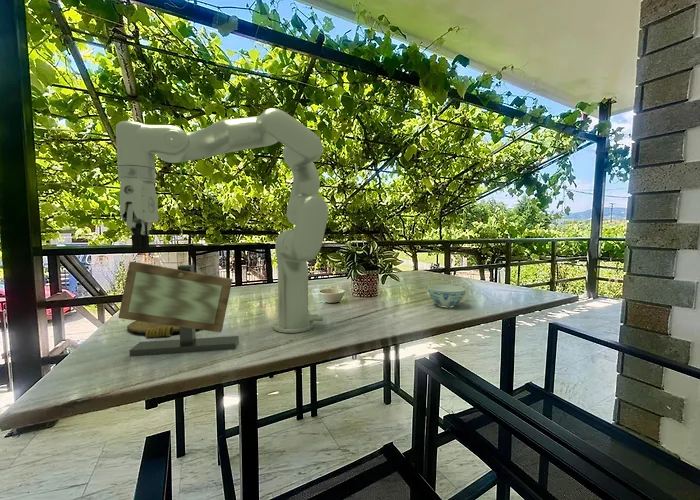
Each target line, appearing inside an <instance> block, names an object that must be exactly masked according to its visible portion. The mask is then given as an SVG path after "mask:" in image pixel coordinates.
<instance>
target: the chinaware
mask: <svg viewBox="0 0 700 500" xmlns="http://www.w3.org/2000/svg"><path fill="white" fill-rule="evenodd" d="M427 291H428V293H429V297H430V298H431V299H432V301H433V302H435V304H437V306H438V305H440V306H446V307H451V306H455V307H456V305H457V304H459V303H461V302H462V301H463V299H464V297H465V296H466V295H465V294H466V291H467V289H466V287H462V286H458V285H451V284H435V285H429V286H427Z"/></svg>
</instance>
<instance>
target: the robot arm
mask: <svg viewBox="0 0 700 500" xmlns="http://www.w3.org/2000/svg"><path fill="white" fill-rule="evenodd" d="M115 137H116V138H115V139H116V155H117V156H116V157H117V158H116V159H117V161H116V162H117V177H118V182H120V183H119V184H120V187H119V211H120V219H121V220H122V221H123V222H125V223H126V227H128V228H129V231H130V235H131V247H132V249H131V251H132V252H136V253H137V252H140V253H141V252H149V251H150V250H151V249H150V228H152V223H157V222H158V221H159V219H160V218H159V207H158V206H159V205H158V198H157V197H158V196H157V193H156V192H157V191H156V186H155V184H156V183H157V182H156V166H155V165H156V163H155V156H157V157H158V159H160V160H161V161H162V162H166V163H169V164H170V163H171V164H175V163H184V162H189V161H195V160H196V161H197V160H200V159H205V158H210V157H215V156H220V155H224V154H227V153H232V152H238V151H244V150H250V149H257V148H263V147H268V146H272V145H275V144H277V143H278V142H279V143H281V144H282V145H283V146H284V147H282V149H283V150H282V156H283V160H284V162H285V163H286V164H287V166H288V167H289V170H290V171H291V173H292V176H293V177H292V178H293V180H292V181H293V182H292V186H291V192H290V196H289V201H288V204H287V208H286V218H287V220H288V222H289V223H290V224H291V225H293V226H294V228H290V229H285V230H283V231H282V232H281V233H280V234H278V236H277V238H276V240H275V247H274V249H275V255H276V257H275V258H276V263H277V309H278V311H277V313H278V314H277V316H278V317H277V318H278V321H276V322H274V323H273V327H272V328H273V329H274V330H275V331H276V332H279V333H283V334H284V333H285V334H287V333H288V334H296V333H301V332H302V333H303V332H306V331H309V330H311V329H312V328H314V322H323V320H324V319H323V314H318V313H317V314H312V313H310V311H309V268H308V263H307V262H310V261H312V260H313V259H315V258H316V257H317V256H318V254H319V252H320V251H321V248H322V245H323V239H324V236H325V232H326V228H327V222H328V218H329V209H328V204H327V202H326V201H325V199H324V198H323V197H322V196H320V195H319V190H320V185H321V180H320V179H321V178H320V175H319V171H318V169H317V167H316V165H315V163H314V162H316V161H318V160H319V159H320V158H321V157H322V154H323V152H324V151H323V149H324V147H323V146H324V145H323V143H322V140H321V139H320V137H319V136H318V135H317V134H316V133H315V132H313V131H312V130H311V129H309V128H308V127H307V126H306V125H304V124H303V123H302V122H300V121H298V120H297V119H296V118H295V117H293V116H292V115H290V114H288V113H287V112H285V111H284V110H282V109H279V108H275V107H270V108H267V109H265V110H264V111H263V112H262V113H261V114H260V115H257V116H247V117H236V118H225V119H221V120H218V121H215V122H214V123H212V124H210V125H208V126H206V127H205V128H202V129H199V130H195V131H189V132H186V131H185V130H184V129H182V128H181V127H179V126H176V125H172V124H147V123H144V122H143V123H142V122H139V121H132V120H122V121H119V122H118V123H116V125H115Z"/></svg>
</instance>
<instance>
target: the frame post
mask: <svg viewBox="0 0 700 500" xmlns="http://www.w3.org/2000/svg"><path fill="white" fill-rule="evenodd" d="M194 267H195V266H194V264H181V265H178V266H177V269H178V270H184V271H190V272H195V270H194V269H195V268H194ZM196 335H197V333H196V329H192V328H185V327H180V331H179V339H167V340H164V339H163V340H154V341H153V340H151V341H150V340H148V341H139V342H138V343H137V344H135V345H134V346H133V347H131V348H130V349H129V350H128V351H129V353H128V354H129V357H134V356H135V357H136V356H137V357H138V356H149V355H151V356H152V355H167V354H177V353H178V354H181V353H194V352H195V353H196V352H198V353H199V352H209V351H224V350H236V349H237V346H238V344H239V339H240V337H239V336H240V335H235V336H234V335H232V336H230V335H229V336H217V337H214V336H213V337H200V338H198V337H197V336H196Z"/></svg>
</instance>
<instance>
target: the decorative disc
mask: <svg viewBox="0 0 700 500" xmlns="http://www.w3.org/2000/svg"><path fill="white" fill-rule="evenodd" d="M126 328H127V329H128V330H129V331H130V332H133V333H139V334H145V338H146V339H153V338H154V339H155V338H160V337H171V336H172V335H173V334H174V333H177V332H179V333H180V327H178V326H171V325H164V324H156V323H149V322H142V321H135V320H133V321H131V323H129V324H128V325H127V327H126Z"/></svg>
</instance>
